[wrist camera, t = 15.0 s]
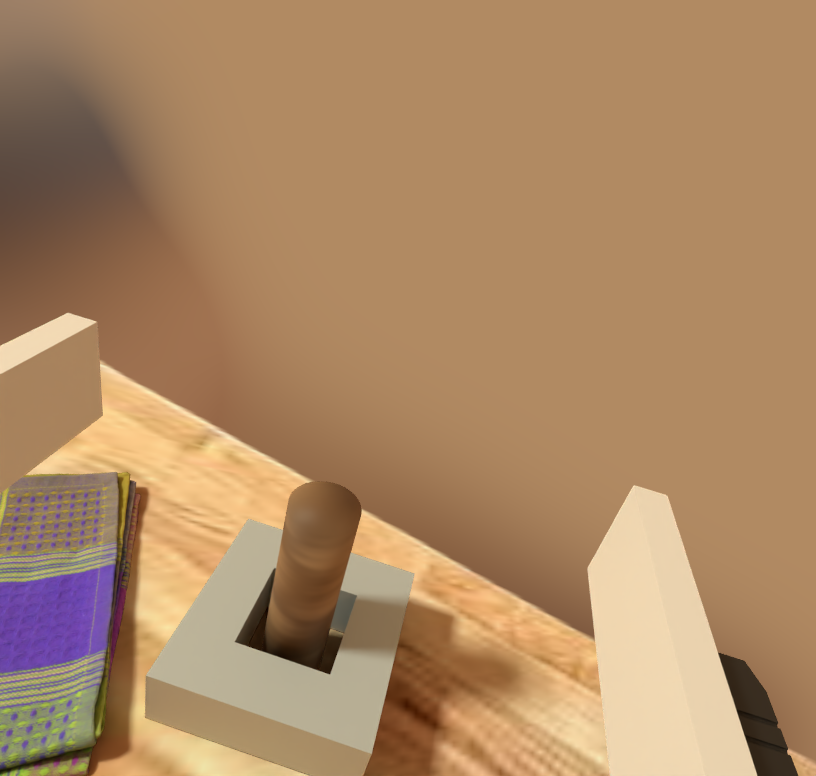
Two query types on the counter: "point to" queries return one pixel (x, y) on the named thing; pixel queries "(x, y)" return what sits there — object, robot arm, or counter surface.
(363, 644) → the socket block
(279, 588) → the walnut dowel
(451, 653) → the counter surface
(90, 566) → the dish towel
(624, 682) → the robot arm
